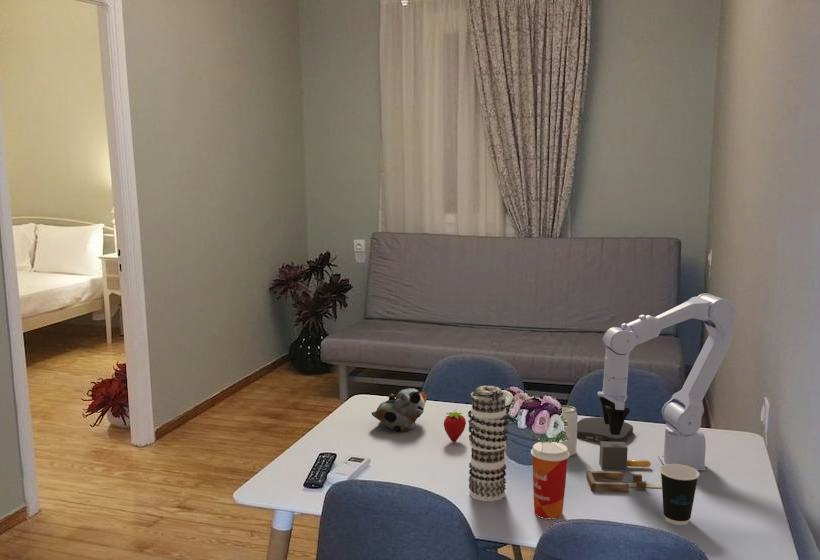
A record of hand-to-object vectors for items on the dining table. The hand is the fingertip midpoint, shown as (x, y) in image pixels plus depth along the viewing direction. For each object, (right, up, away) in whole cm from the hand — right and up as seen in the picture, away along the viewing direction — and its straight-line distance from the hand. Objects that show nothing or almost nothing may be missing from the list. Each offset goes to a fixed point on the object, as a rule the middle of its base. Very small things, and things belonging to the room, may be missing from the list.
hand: (611, 428), depth 183 cm
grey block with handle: (+4, -10, +1) cm, 11 cm away
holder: (0, -11, -9) cm, 15 cm away
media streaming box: (+4, -7, +25) cm, 26 cm away
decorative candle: (-33, -12, -14) cm, 38 cm away
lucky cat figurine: (-53, -6, +32) cm, 62 cm away
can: (-10, -9, +11) cm, 17 cm away
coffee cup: (-20, -14, -24) cm, 34 cm away
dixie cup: (+6, -14, -27) cm, 31 cm away
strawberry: (-38, -8, +18) cm, 43 cm away
